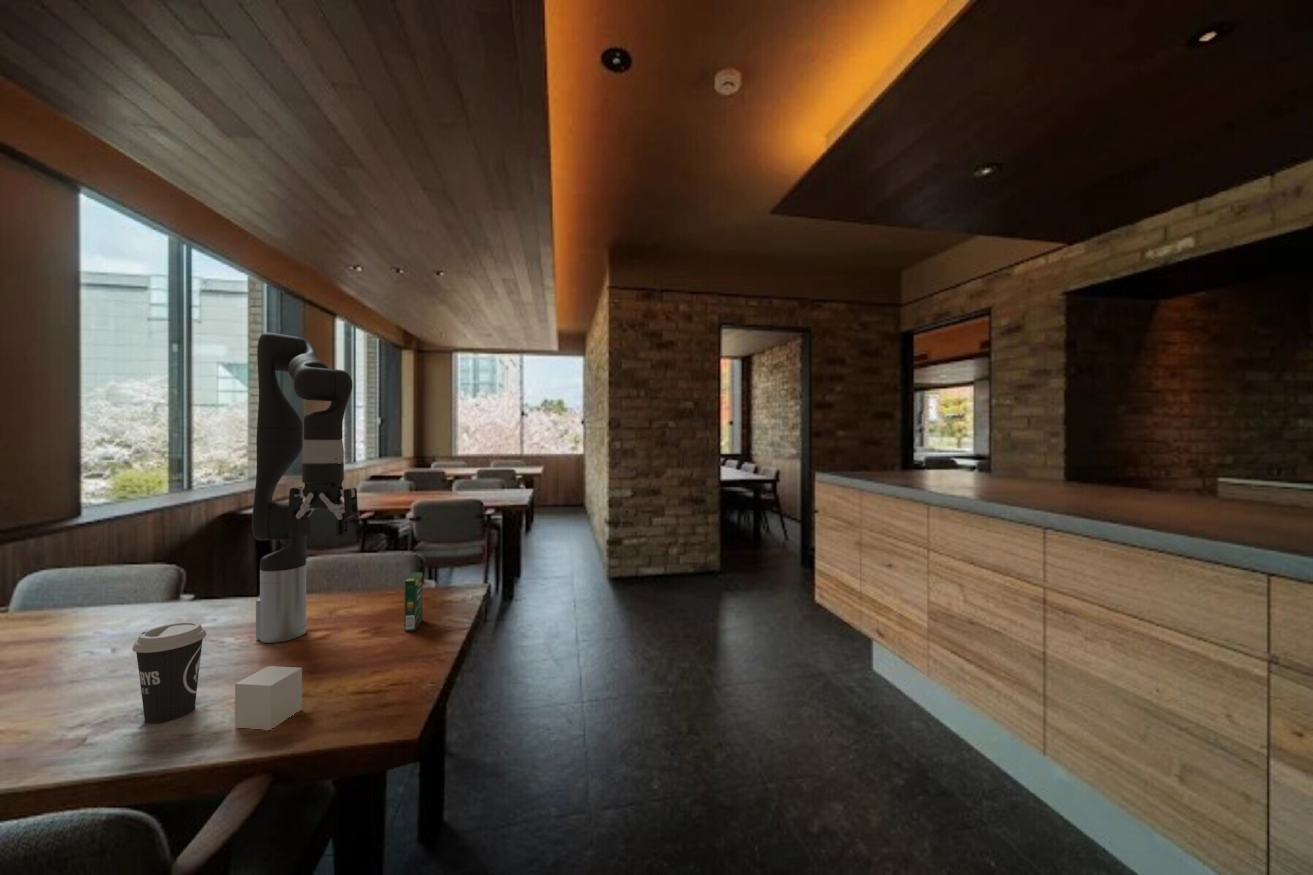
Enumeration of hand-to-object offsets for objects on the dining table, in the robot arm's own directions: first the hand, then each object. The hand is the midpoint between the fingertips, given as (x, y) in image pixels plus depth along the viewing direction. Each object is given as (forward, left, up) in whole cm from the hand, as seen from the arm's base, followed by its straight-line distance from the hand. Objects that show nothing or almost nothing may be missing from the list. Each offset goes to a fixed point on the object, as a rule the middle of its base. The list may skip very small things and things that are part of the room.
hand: (323, 536), depth 109 cm
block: (+6, -20, -28) cm, 35 cm away
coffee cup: (-13, -20, -28) cm, 37 cm away
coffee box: (+6, +24, -28) cm, 38 cm away
